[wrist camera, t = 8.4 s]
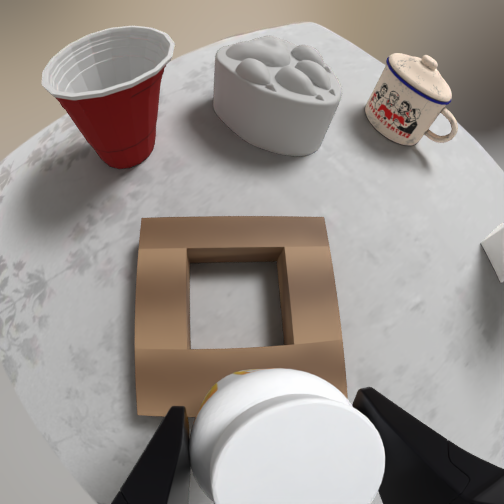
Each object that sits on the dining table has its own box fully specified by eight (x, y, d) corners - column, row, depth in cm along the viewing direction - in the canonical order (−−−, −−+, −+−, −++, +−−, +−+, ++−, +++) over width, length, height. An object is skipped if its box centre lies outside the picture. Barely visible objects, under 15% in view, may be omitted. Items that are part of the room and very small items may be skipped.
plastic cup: (166, 196, 26) (145, 88, 15) (66, 187, 25) (15, 100, 14) (192, 115, 30) (190, 20, 19) (104, 112, 29) (82, 28, 18)
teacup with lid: (350, 111, 33) (383, 39, 23) (381, 94, 36) (412, 35, 26) (421, 175, 31) (475, 111, 20) (443, 148, 34) (486, 95, 23)
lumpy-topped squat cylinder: (267, 77, 34) (278, 23, 26) (342, 136, 31) (370, 79, 23) (201, 103, 31) (201, 40, 23) (278, 174, 28) (300, 107, 20)
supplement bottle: (235, 480, 12) (262, 592, 3) (179, 400, 14) (125, 444, 5) (320, 429, 14) (438, 475, 5) (268, 350, 15) (343, 317, 6)
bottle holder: (331, 398, 21) (347, 401, 18) (147, 409, 19) (137, 415, 16) (312, 233, 26) (324, 217, 23) (149, 235, 24) (141, 218, 21)
